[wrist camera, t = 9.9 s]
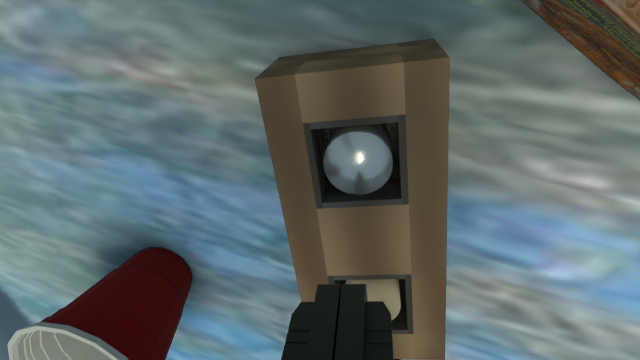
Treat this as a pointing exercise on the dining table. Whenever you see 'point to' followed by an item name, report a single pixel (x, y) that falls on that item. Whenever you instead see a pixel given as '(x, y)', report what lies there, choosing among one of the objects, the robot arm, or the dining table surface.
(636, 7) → the tin
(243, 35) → the dining table surface
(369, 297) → the birch peg
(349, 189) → the steel peg
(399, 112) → the collar block
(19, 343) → the plastic cup
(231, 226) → the dining table surface
